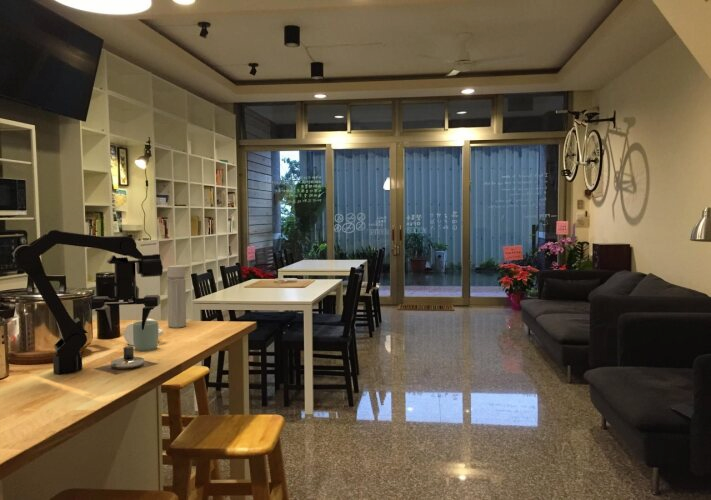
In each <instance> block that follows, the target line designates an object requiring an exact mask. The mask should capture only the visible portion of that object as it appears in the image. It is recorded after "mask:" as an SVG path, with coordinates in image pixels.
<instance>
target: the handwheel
mask: <svg viewBox="0 0 711 500" xmlns="http://www.w3.org/2000/svg"><path fill="white" fill-rule="evenodd" d="M122 350H123V357H119V358H115V359H112V360H111V361H110V365H111V367H112V368H117V369H127V368H134V367H139V366H141V365H143V364H144V360H145V358H143V357H140V356H134V355H135V354H134V350H135V347H134V346H133V345H131V346H124V347H123V349H122Z"/></svg>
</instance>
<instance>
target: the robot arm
mask: <svg viewBox="0 0 711 500" xmlns="http://www.w3.org/2000/svg"><path fill="white" fill-rule="evenodd" d="M56 245H64V246H65V245H66V246H74V247H82V248H90V249H97V250H99V249H100V250H103V251H106V252H111V253H113V255H111V257H110V258H109V259H108V260H106V263H107V264H111V265H113V264H114V289H113V295H114V298H109V296H107V295H106V296H102V295H101V296H95V297H93V298H91V299H90V301H89V308H90V309H91V310H92V309H94V312H98V313H99V314H100V316H101V318H102V320H103V321H104V323H105V325H106V328H107V330H108V332H112V319H111V312H110V311H111V306H121V305H122V306H126V305H127V306H128V305H143V307H142V311H141V312H142V313H141V314H142V315H141V320H142V330H144V328H145V324H146V321H147V319H149V316H150V315H149V314H150V312H151V311H152V310H154V309H155V308H156V307H159V306H160V304H161V297H160V295H159V294H146V295H145V296H144V297H140V296H139V295H140V288H139V287H138V285H137V281H136V280H137V279H136V274H138V275H140V277H141V278H149V277H151V278H152V277H162V276H163V270H164V267H163V264H162V263H163V262H162V259H161V254H160V253H154V254H143V253H142V252H141V251H140V250H139V249H138V248H137V242H136V241H135V239H134V238H133V237H132V236H127V235H106V236H101V235H92V234H86V233H85V234H83V233H78V232H70V231H63V230H58V229H50V230H47V231H46V233H45V234H43V235H42V236H40V237H38V238H37V239H34V240H33V241H32V242H30V243H29V244H22V245H19V246H17V247H16V248H15V249H14V251H13V259H14V261H15V262H16V264H17V265H18V266H19V268H20V269H21V270H23V272H24V273H25V274H26V275H27V276H28V277H29V278H30V280H31V281H32V283H33V284H34V285H35V287H36V290H37V291H38V293H39V294H40V297H42V299H43V302H44V303H45V304H46V306H47V308H48V310H49V312H50V313H51V314H52V317H53V318H54V319H55V322H56V324H57V328H58V331H59V333H60V339H59V340H58V341H57V342H56V343H55V344H54V345H53V347H54V350H55V352H56V354H53V355H52V363H53V364H52V365H53V366H52V367H53V368H52V369H53V374H54V375H59V376H61V375H71V374H75V373H78V372H79V371H81V370H83V357H82V356H81V354H82V353H81V352H80V351H81V349H82V348H83V347H85V345H86V344H87V342H88V337H87V335H86V334H88V331H87V330H86V329H85V327H84V326H83V323H82V321H81V320H80V318H79V317H75V319H73V318H72V317H71V316H70V314H69V312H68V311H67V309H66V307H65V306H64V304H63V301H62V300H61V299H60V297H59V295H58V293H57V292H56V290H55V288H54V286H53V285H52V283H51V281H50V279H49V278H48V276H47V274H46V272H45V269H44V266H43V262H42V259H41V256H42V255H43V254H45V253H46V252H48V251H49V250H51V249H52V248H53V247H54V246H56ZM114 254H117V255H120V256H125V257H117V256H116V255H114ZM128 257H130V258H132V259H131V260H129V259H128ZM133 259H134V260H133Z"/></svg>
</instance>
